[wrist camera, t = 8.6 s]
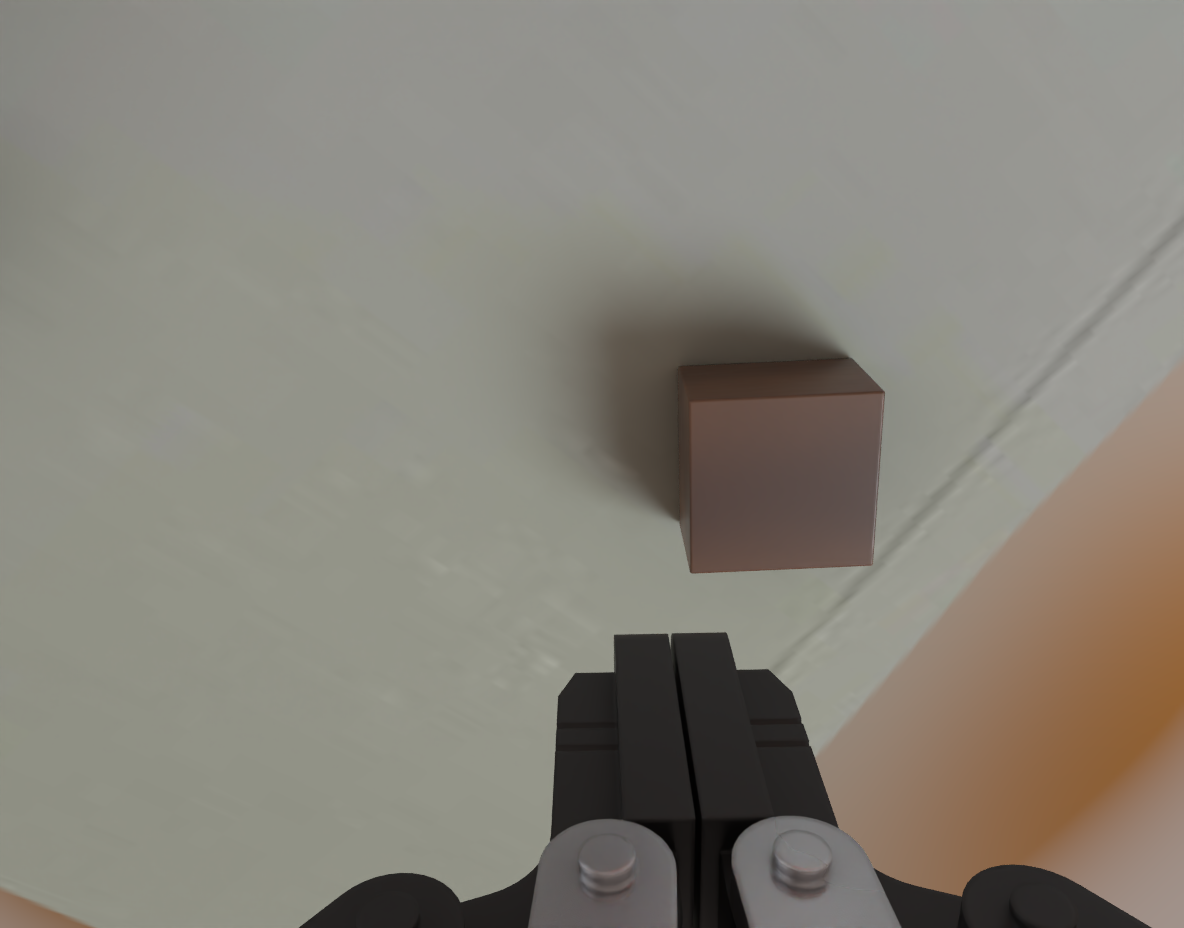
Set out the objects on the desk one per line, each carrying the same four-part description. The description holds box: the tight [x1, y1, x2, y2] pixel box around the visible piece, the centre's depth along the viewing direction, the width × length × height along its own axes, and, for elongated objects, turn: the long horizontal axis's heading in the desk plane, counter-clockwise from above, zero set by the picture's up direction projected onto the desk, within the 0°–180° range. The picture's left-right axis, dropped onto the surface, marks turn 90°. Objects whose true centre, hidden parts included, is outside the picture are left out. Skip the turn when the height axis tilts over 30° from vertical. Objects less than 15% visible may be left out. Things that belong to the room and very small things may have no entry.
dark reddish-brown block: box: [678, 358, 885, 573], centre depth 27 cm, size 5×5×3 cm
